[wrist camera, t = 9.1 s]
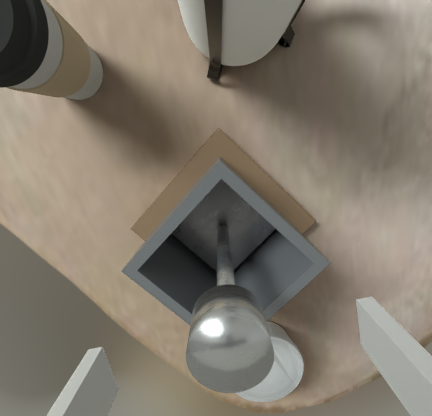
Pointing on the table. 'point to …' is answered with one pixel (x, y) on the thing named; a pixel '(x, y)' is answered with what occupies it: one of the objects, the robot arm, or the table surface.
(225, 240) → the plunger
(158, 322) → the table surface
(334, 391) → the table surface
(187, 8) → the coffee press
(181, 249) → the square grey bin
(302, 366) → the ramekin
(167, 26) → the table surface
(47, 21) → the coffee cup
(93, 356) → the robot arm
